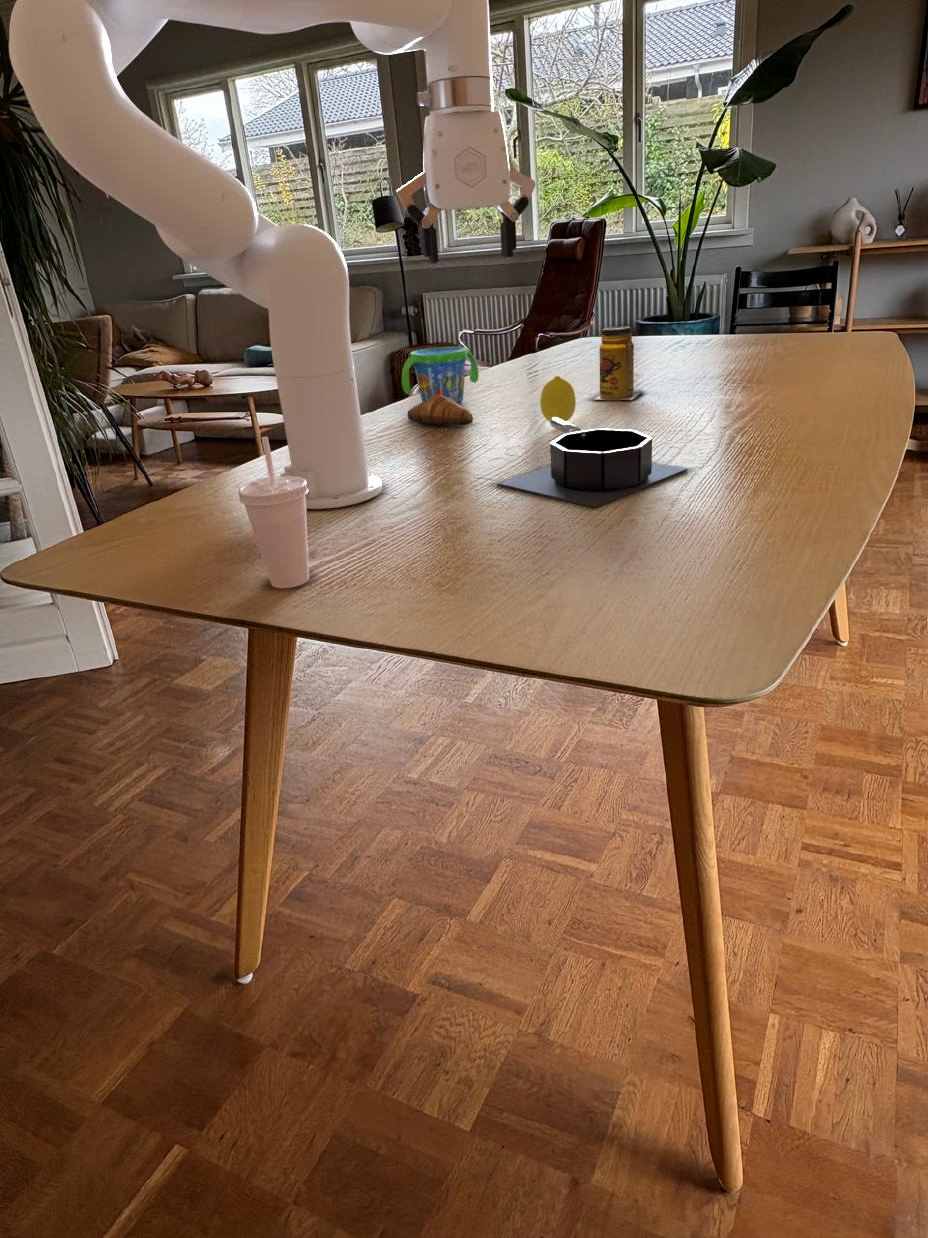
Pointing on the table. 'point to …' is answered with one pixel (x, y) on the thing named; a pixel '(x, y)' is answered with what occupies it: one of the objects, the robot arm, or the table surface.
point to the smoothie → (279, 524)
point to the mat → (546, 486)
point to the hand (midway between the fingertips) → (470, 259)
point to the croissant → (440, 412)
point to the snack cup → (440, 372)
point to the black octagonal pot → (599, 458)
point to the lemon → (558, 399)
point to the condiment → (617, 364)
